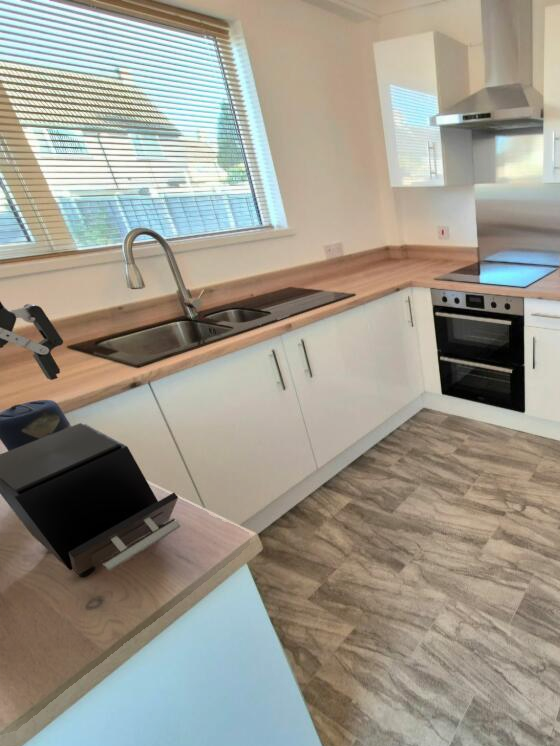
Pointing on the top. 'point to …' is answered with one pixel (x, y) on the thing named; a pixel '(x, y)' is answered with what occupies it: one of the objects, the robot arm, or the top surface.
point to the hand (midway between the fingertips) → (11, 391)
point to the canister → (30, 422)
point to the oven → (73, 488)
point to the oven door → (126, 537)
